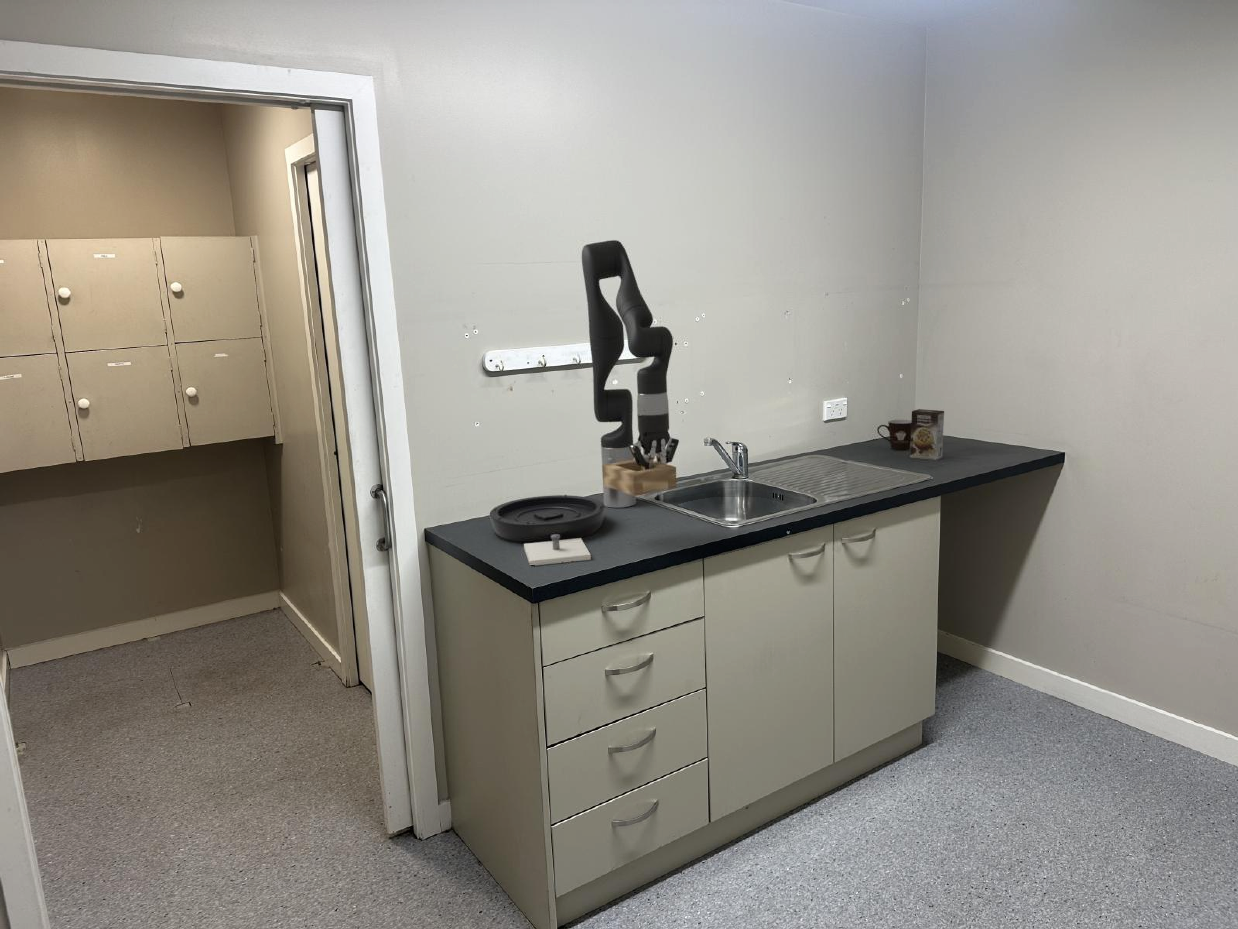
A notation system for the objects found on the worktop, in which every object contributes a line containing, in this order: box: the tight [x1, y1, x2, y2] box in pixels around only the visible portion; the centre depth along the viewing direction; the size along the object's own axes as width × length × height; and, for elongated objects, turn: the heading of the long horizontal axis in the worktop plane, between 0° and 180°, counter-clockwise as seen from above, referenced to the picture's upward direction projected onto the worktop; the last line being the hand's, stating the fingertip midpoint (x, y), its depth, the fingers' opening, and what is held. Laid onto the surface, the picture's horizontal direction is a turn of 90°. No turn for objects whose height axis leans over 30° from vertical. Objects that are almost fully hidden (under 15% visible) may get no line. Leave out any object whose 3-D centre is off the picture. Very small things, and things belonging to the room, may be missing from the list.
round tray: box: [489, 494, 606, 544], centre depth 223 cm, size 30×6×30 cm
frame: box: [601, 459, 678, 496], centre depth 204 cm, size 14×12×5 cm
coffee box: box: [909, 408, 945, 461], centre depth 289 cm, size 9×6×16 cm
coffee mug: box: [876, 419, 912, 452], centre depth 306 cm, size 12×9×10 cm
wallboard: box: [523, 534, 592, 566], centre depth 201 cm, size 14×14×4 cm
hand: (655, 481), depth 207 cm, fingers closed on frame, 2 cm apart
